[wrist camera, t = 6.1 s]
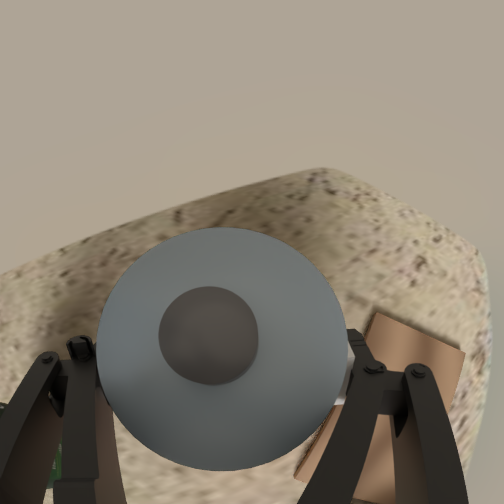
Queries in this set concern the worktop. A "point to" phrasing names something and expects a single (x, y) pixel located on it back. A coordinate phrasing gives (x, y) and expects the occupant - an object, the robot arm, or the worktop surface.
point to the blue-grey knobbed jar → (222, 349)
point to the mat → (380, 451)
